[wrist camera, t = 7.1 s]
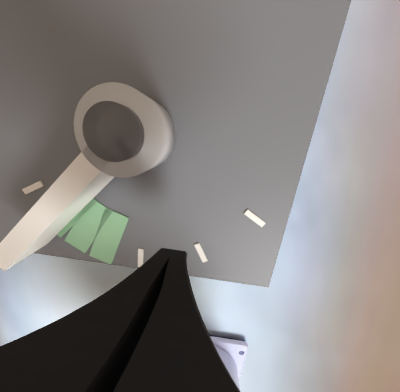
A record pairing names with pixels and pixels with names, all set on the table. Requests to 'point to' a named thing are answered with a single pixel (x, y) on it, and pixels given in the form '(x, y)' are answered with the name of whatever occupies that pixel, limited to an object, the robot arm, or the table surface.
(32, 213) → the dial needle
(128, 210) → the dial base
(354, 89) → the table surface
